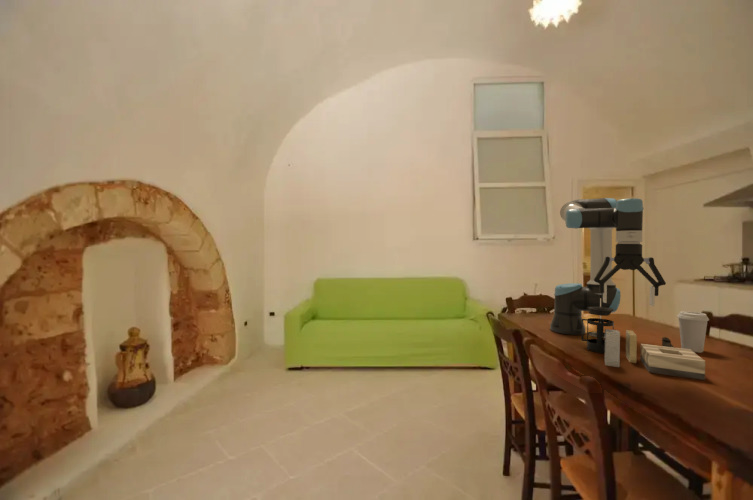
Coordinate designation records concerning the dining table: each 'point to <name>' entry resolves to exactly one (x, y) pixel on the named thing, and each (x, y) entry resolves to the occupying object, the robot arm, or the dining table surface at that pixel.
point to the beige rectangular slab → (631, 346)
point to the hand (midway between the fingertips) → (627, 303)
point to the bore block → (672, 361)
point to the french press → (598, 343)
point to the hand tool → (666, 342)
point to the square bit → (612, 348)
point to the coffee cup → (692, 330)
